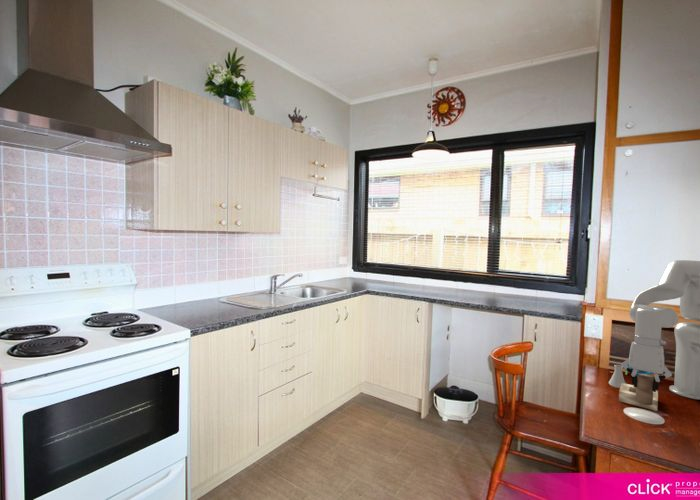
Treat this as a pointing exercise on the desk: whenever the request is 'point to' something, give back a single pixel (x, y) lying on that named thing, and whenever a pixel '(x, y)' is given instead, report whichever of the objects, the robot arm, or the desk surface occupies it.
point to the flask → (617, 377)
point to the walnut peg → (644, 389)
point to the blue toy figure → (639, 372)
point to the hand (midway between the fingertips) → (644, 388)
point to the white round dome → (644, 415)
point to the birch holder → (629, 396)
